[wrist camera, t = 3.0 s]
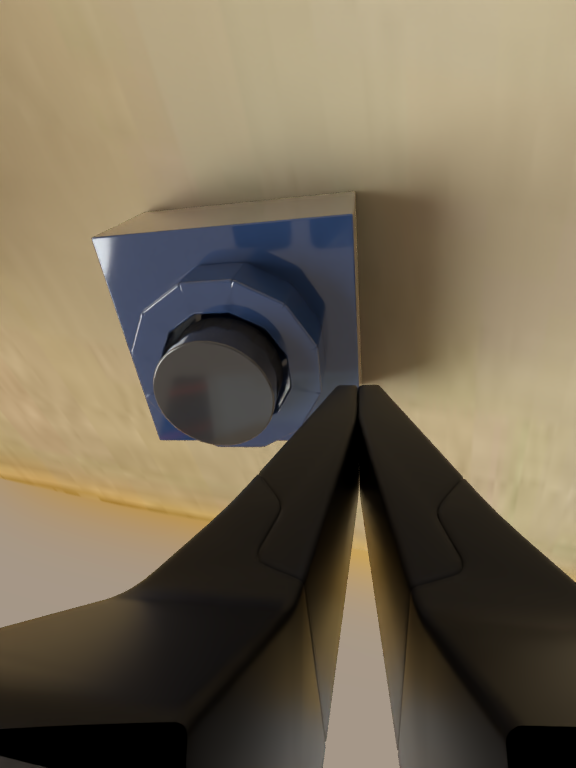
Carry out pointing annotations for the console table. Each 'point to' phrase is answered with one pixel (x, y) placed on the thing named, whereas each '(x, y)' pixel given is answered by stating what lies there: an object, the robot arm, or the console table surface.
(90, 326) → the console table surface
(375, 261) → the console table surface
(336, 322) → the blue stepped block
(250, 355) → the cylinder
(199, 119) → the console table surface
